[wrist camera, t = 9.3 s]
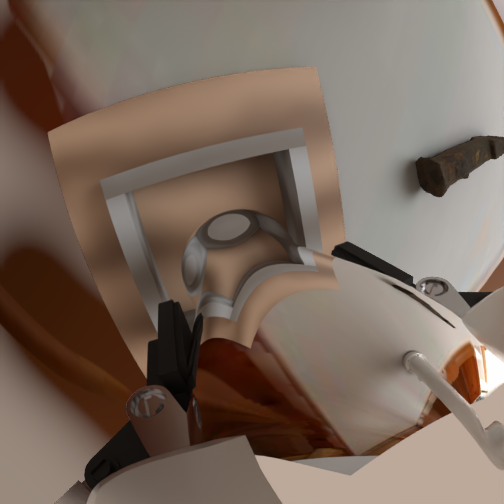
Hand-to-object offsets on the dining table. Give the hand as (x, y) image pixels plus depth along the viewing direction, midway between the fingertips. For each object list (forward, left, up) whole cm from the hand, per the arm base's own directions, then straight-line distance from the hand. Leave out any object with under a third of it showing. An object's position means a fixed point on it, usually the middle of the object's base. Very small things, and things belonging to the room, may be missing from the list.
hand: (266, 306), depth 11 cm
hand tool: (-2, +30, -12) cm, 32 cm away
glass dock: (0, 0, -11) cm, 11 cm away
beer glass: (0, 0, -5) cm, 5 cm away
